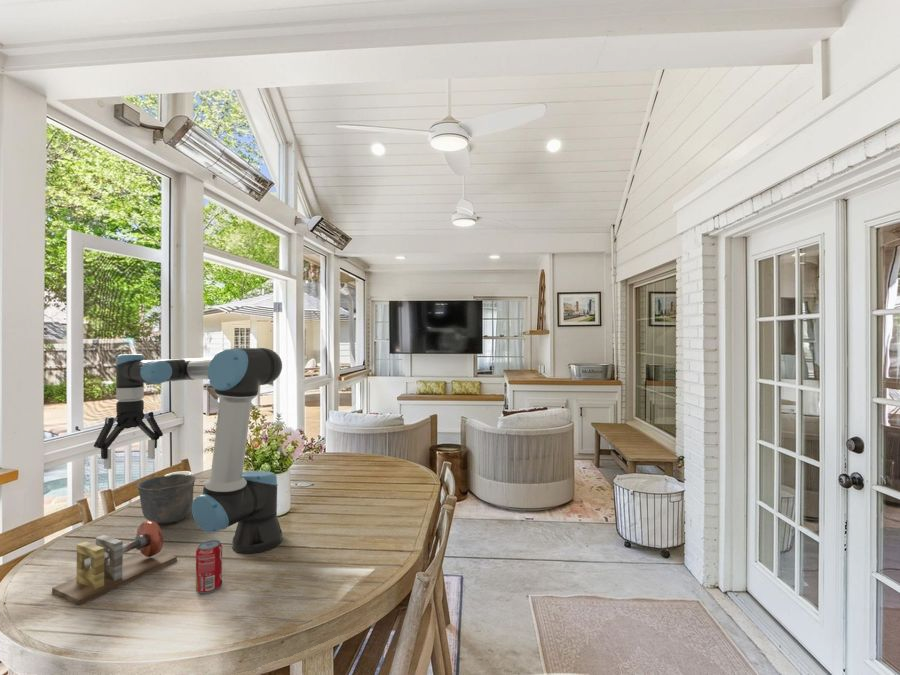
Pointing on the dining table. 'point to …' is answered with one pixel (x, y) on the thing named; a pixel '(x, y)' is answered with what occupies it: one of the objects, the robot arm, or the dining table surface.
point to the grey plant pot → (166, 497)
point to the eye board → (127, 573)
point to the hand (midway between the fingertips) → (130, 463)
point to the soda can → (208, 566)
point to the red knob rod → (141, 541)
